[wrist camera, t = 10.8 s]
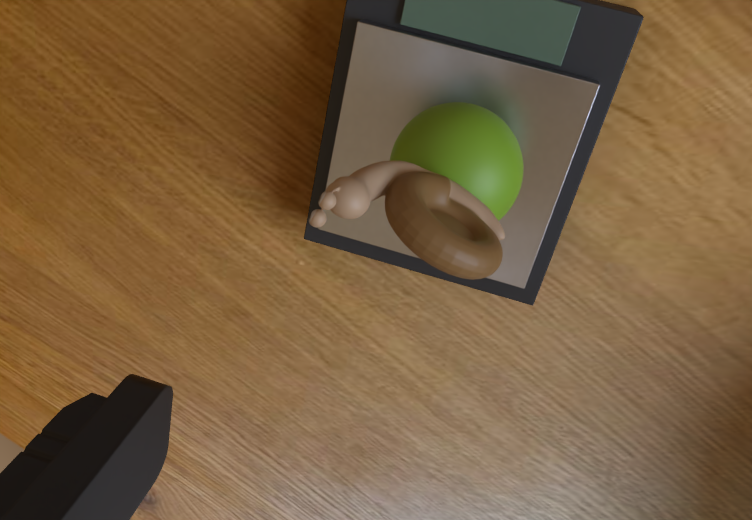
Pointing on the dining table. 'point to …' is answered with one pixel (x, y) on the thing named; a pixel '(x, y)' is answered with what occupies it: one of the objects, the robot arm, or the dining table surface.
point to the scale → (507, 38)
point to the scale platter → (470, 85)
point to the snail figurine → (441, 188)
